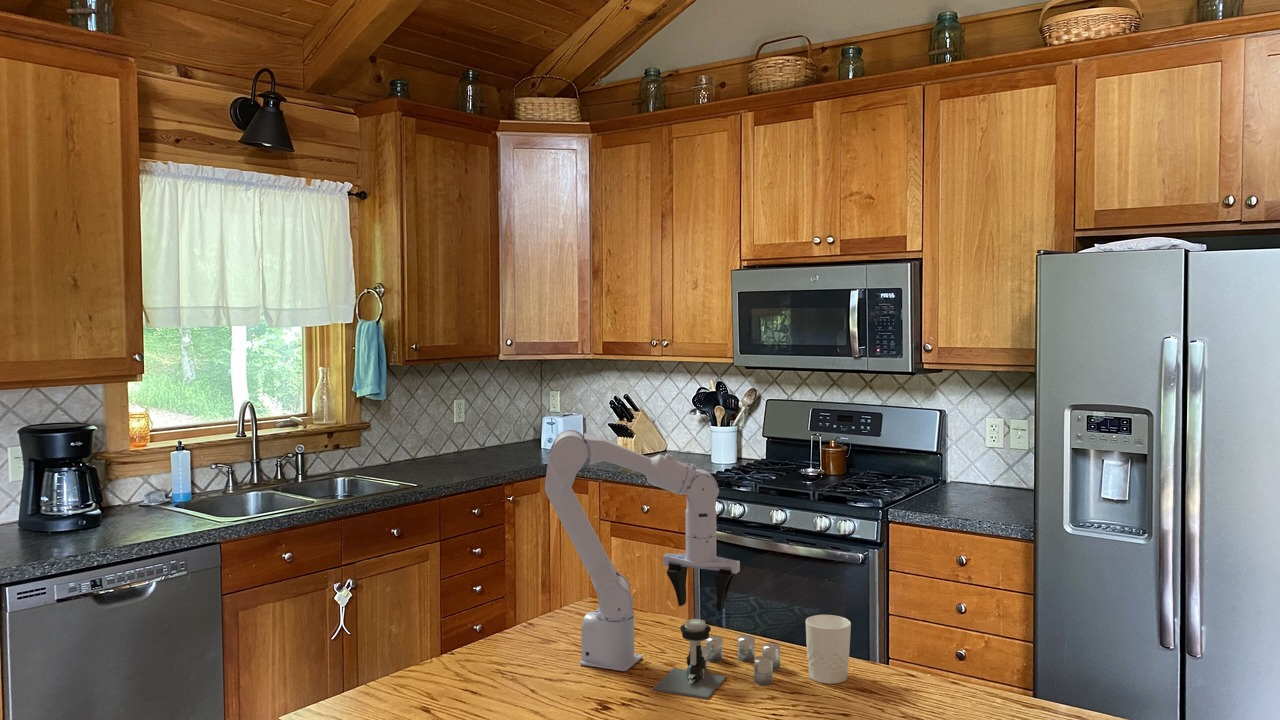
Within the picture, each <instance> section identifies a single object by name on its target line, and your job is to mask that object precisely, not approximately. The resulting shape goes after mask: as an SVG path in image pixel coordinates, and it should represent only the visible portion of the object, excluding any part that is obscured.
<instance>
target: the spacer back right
mask: <svg viewBox="0 0 1280 720" xmlns="http://www.w3.org/2000/svg"><path fill="white" fill-rule="evenodd" d="M761 647H762V652H761V653H762V655H761V656H766V657H770V658H772V659H773V672H774V671H775V672H777V671H779V670H780V669H781V645H780V644H778V643H772V642H769V643H763V644H762V646H761Z"/></svg>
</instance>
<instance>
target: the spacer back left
mask: <svg viewBox="0 0 1280 720" xmlns="http://www.w3.org/2000/svg"><path fill="white" fill-rule="evenodd" d="M704 641H705V642H704V644H705V645H704V646H705V647H707V663H708V662H709V663H715V664H716V663H720V662H722V661H723V660H724V659H723V657H724V656H723V650H724V649H723V647H724V646H723V642H724V641H723V637H722V636H720V635H709V638H707V639H705V640H704Z"/></svg>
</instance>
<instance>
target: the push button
mask: <svg viewBox="0 0 1280 720" xmlns="http://www.w3.org/2000/svg"><path fill="white" fill-rule="evenodd" d="M679 629H680V632H681V636H682V638H683V639H685V640H686V641H687V642H689V647H690V652H689V651H688V655H687V656H686V664H687V668H686V669H685V670H687V671H686V676H687V681H688V683H691V684H692V683H693V682H694V683H697V682H698V681H699V679H700V678H701V676H702V678H704V676H703V675H705V673H706V672H705V660H704V657H702V651H701V645H702V644H701V643H702V642H703V641H705V639H707V638H709V636H710V632H711V629H712V627H711V626H710V625H708V624H706V621H705V620H703V619H699V618H690V619H687V620H685V624H682V625H681V626H680V627H679Z"/></svg>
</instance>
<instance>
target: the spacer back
mask: <svg viewBox="0 0 1280 720" xmlns="http://www.w3.org/2000/svg"><path fill="white" fill-rule="evenodd" d="M755 649H756V637H755V636H754V635H750V634H749V635H747V634H743V635H738V637H737V660H738V661H739V662H743V663H750V662H754V658H755V657H756V655H755V654H756V650H755Z"/></svg>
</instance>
